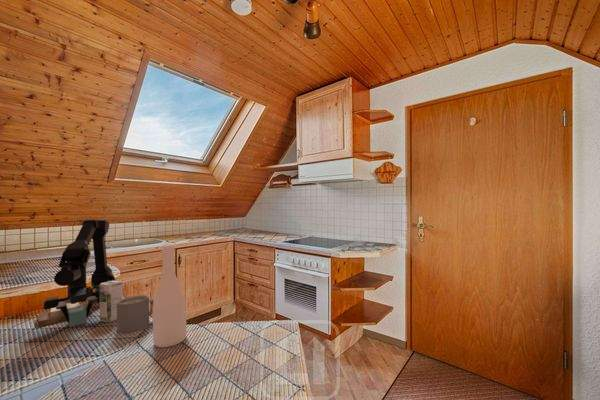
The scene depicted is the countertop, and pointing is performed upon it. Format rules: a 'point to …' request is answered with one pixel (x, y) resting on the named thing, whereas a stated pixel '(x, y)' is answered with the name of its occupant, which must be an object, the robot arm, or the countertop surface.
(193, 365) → the countertop surface
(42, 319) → the stacking base
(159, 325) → the wine bottle
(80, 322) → the teal cube
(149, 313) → the coffee mug
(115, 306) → the syrup box
